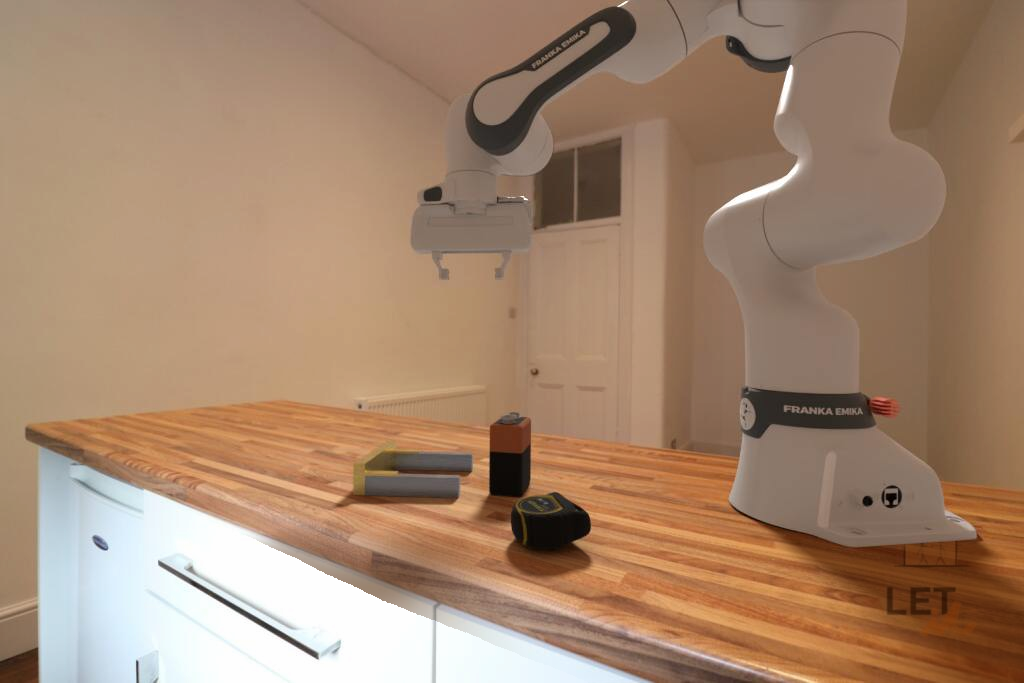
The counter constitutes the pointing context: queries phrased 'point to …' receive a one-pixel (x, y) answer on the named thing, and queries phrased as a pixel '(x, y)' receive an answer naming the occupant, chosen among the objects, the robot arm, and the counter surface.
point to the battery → (510, 455)
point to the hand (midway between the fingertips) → (471, 279)
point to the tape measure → (548, 521)
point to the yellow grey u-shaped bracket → (381, 481)
